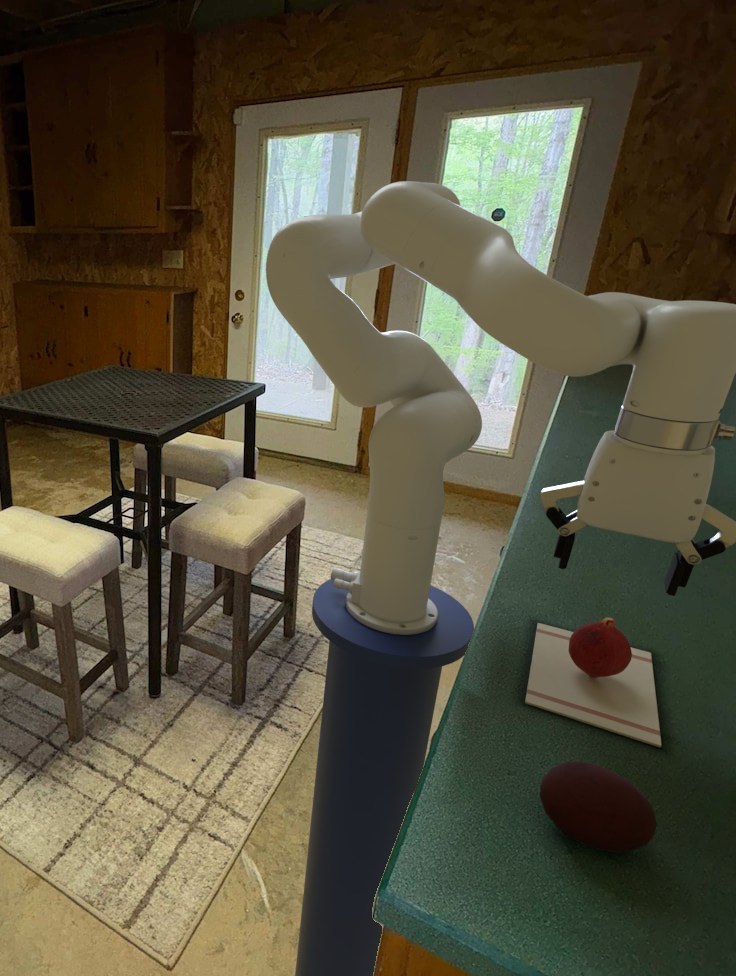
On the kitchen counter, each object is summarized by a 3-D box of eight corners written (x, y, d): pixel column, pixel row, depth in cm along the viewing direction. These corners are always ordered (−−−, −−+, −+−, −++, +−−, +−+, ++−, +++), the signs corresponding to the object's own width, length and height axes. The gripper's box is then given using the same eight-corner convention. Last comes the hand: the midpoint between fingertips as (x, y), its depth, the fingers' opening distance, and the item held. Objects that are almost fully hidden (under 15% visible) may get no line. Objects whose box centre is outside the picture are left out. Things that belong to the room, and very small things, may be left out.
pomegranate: (593, 696, 70) (611, 637, 67) (550, 665, 75) (565, 608, 72) (634, 687, 71) (653, 628, 68) (589, 656, 77) (605, 601, 74)
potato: (532, 780, 60) (545, 732, 58) (639, 816, 56) (657, 765, 54) (532, 840, 54) (547, 789, 52) (652, 885, 50) (673, 832, 48)
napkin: (524, 703, 70) (525, 701, 70) (537, 624, 84) (537, 622, 84) (660, 748, 64) (661, 745, 63) (650, 654, 77) (651, 652, 77)
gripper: (772, 434, 61) (711, 584, 67) (562, 407, 70) (526, 542, 76) (789, 457, 55) (721, 618, 62) (558, 424, 64) (520, 568, 71)
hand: (613, 576), depth 69 cm, fingers open, 9 cm apart
